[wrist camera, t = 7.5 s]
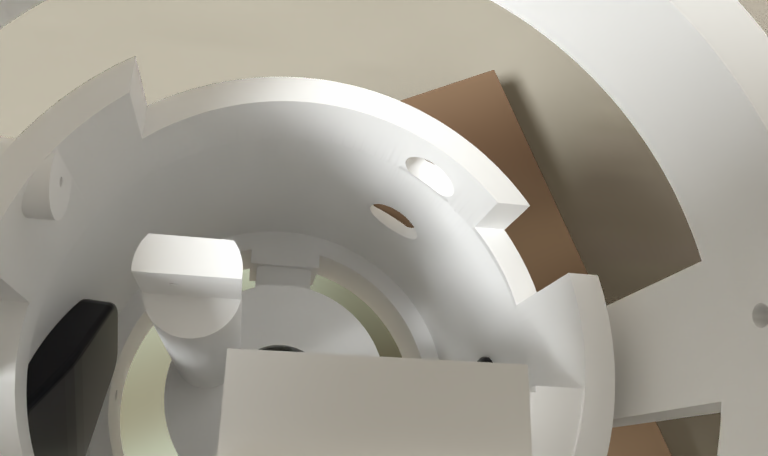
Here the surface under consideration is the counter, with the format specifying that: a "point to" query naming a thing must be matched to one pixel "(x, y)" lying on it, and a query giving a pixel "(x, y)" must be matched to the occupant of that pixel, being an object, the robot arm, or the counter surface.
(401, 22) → the counter surface
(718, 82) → the white tall rounded piece
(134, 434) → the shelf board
